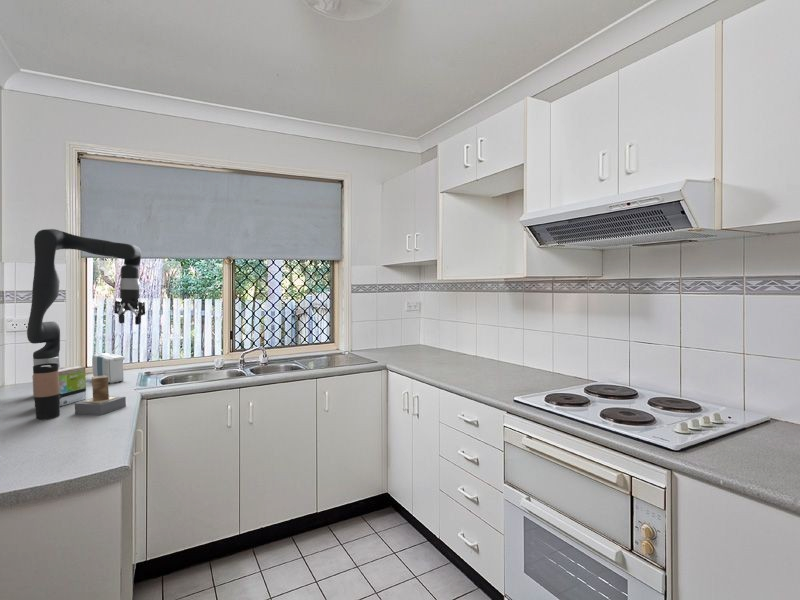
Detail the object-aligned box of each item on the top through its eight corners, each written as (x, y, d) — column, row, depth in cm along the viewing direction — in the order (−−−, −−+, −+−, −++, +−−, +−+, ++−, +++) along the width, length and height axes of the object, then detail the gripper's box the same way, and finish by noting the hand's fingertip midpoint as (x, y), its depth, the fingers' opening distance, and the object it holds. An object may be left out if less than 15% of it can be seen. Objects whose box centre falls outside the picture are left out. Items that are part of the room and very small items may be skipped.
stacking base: (75, 413, 175) (74, 402, 175) (101, 404, 187) (100, 394, 187) (100, 415, 173) (100, 404, 173) (125, 406, 184) (125, 396, 184)
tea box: (54, 409, 182) (52, 373, 181) (34, 407, 184) (32, 372, 183) (87, 399, 196) (85, 365, 196) (68, 398, 198) (66, 365, 198)
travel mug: (39, 415, 173) (37, 364, 172) (63, 413, 176) (61, 362, 175) (31, 421, 166) (29, 367, 165) (56, 418, 169) (54, 366, 168)
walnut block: (93, 401, 176) (92, 378, 176) (92, 398, 180) (92, 376, 180) (108, 399, 179) (107, 377, 179) (107, 396, 183) (106, 375, 183)
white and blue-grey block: (92, 379, 235) (90, 341, 234) (109, 376, 242) (108, 339, 241) (108, 384, 223) (106, 344, 222) (126, 381, 229) (124, 342, 228)
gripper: (109, 287, 201) (109, 323, 202) (136, 289, 198) (136, 325, 199) (123, 287, 208) (123, 322, 209) (149, 288, 205) (149, 324, 206)
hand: (129, 323), depth 204 cm, fingers open, 8 cm apart
